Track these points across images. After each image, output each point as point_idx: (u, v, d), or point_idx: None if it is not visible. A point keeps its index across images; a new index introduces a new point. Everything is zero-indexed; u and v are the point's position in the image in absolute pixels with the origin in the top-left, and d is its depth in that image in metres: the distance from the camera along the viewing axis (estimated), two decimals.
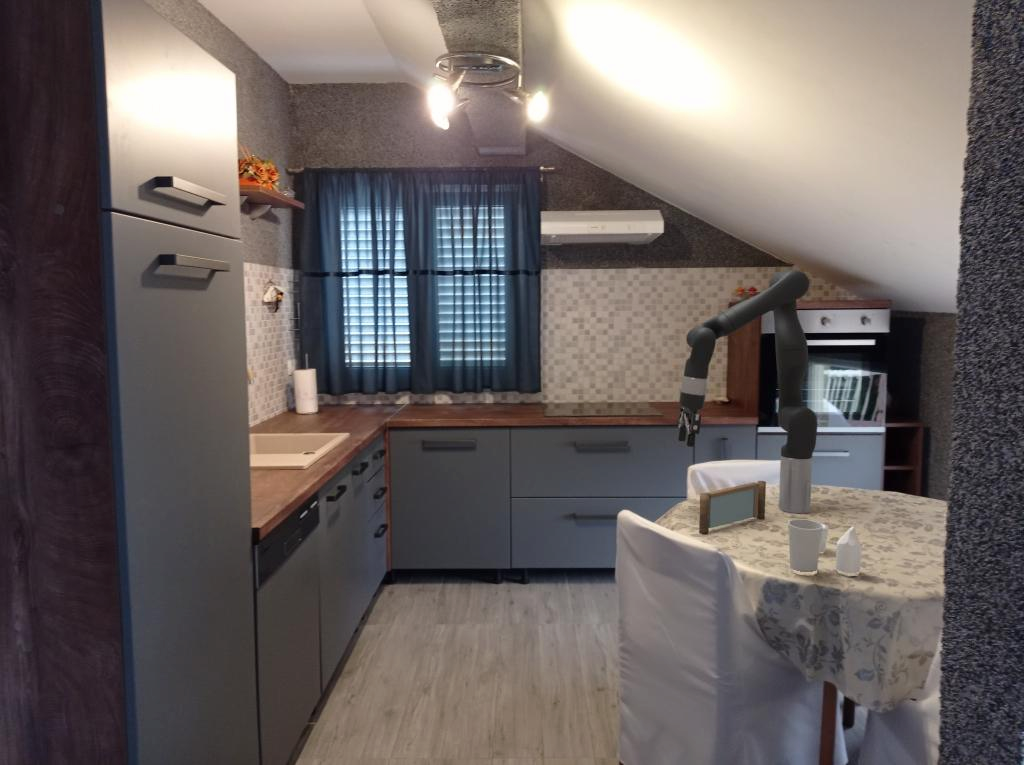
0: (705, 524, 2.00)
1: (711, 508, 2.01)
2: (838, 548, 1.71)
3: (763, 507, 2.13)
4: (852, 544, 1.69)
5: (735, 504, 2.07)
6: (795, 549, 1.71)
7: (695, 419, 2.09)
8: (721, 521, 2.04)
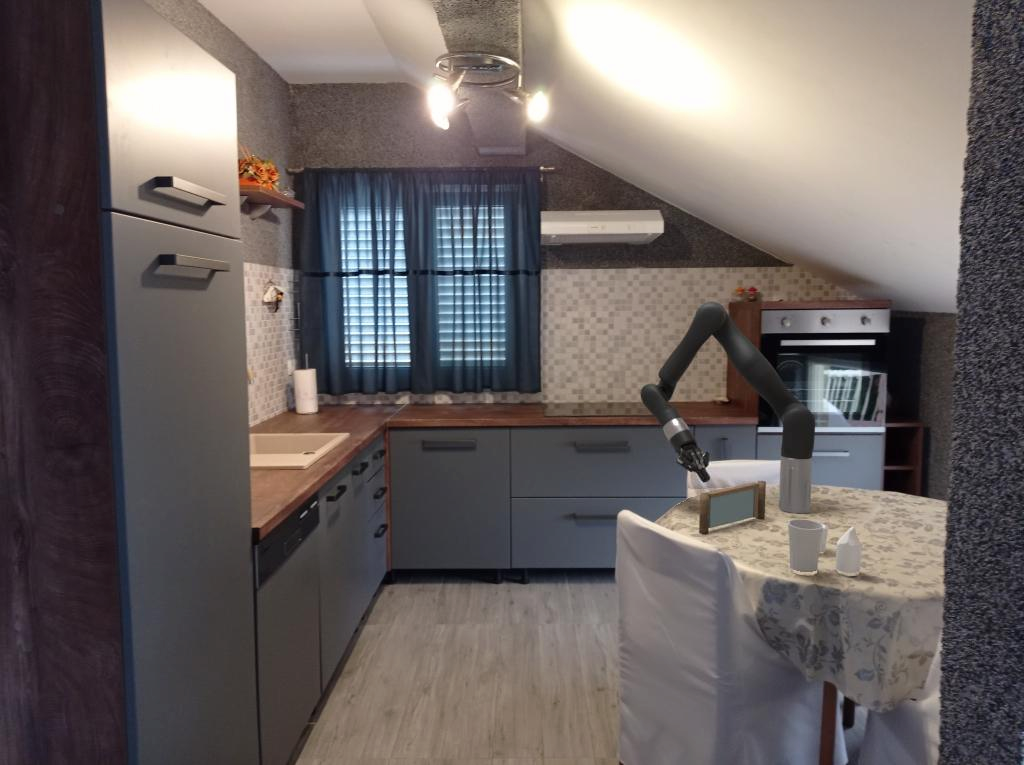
0: (705, 524, 2.00)
1: (711, 508, 2.01)
2: (838, 548, 1.71)
3: (763, 507, 2.13)
4: (852, 544, 1.69)
5: (735, 504, 2.07)
6: (795, 549, 1.71)
7: (681, 463, 2.18)
8: (721, 521, 2.04)
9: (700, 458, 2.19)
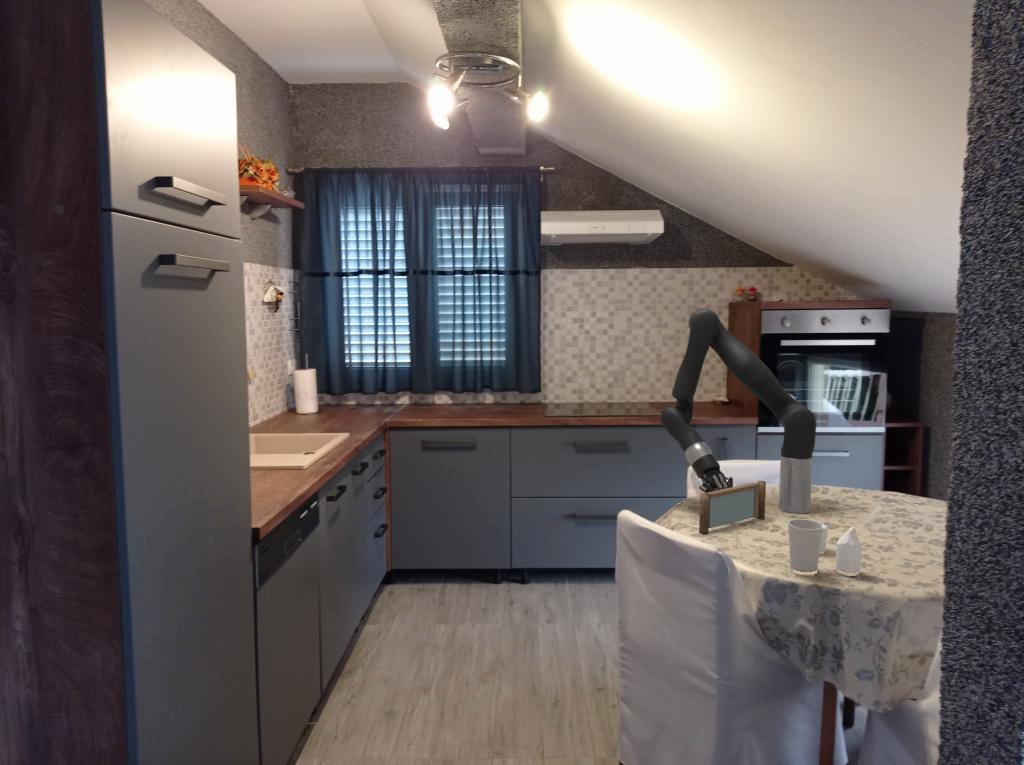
0: (705, 524, 2.00)
1: (711, 508, 2.01)
2: (838, 548, 1.71)
3: (763, 507, 2.13)
4: (852, 544, 1.69)
5: (735, 504, 2.07)
6: (795, 549, 1.71)
7: (704, 490, 2.10)
8: (721, 521, 2.04)
9: (724, 484, 2.11)
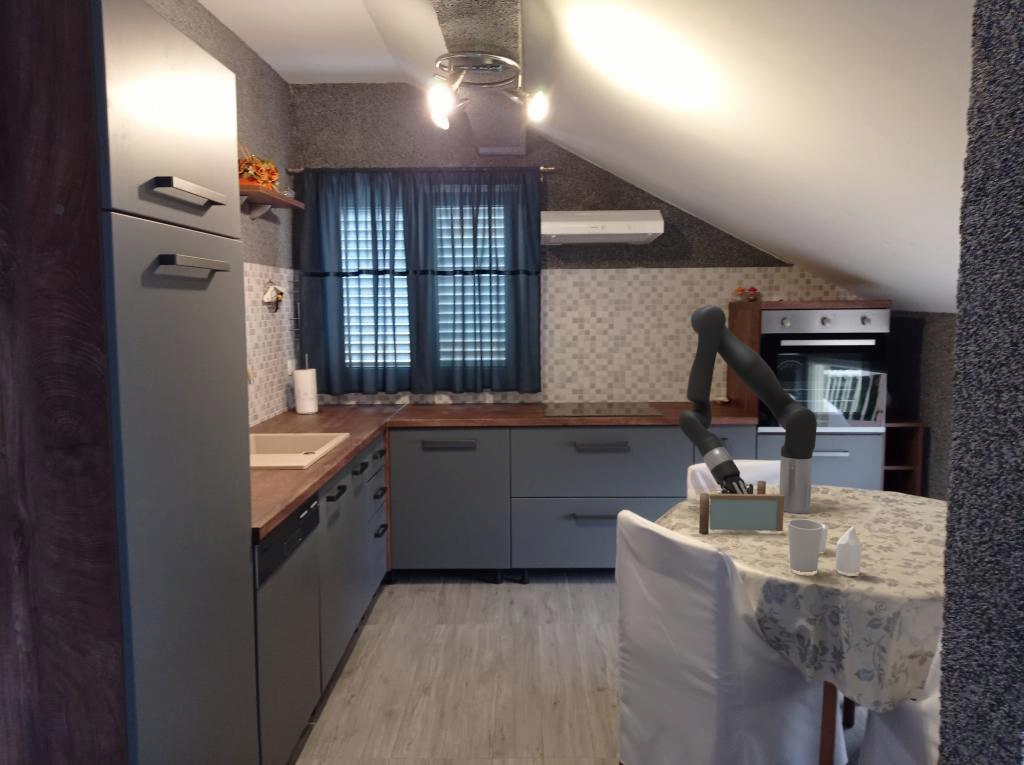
0: (705, 524, 2.00)
1: (712, 510, 2.00)
2: (838, 548, 1.71)
3: None
4: (852, 544, 1.69)
5: (748, 512, 1.99)
6: (795, 549, 1.71)
7: None
8: (727, 525, 2.00)
9: (744, 491, 2.04)
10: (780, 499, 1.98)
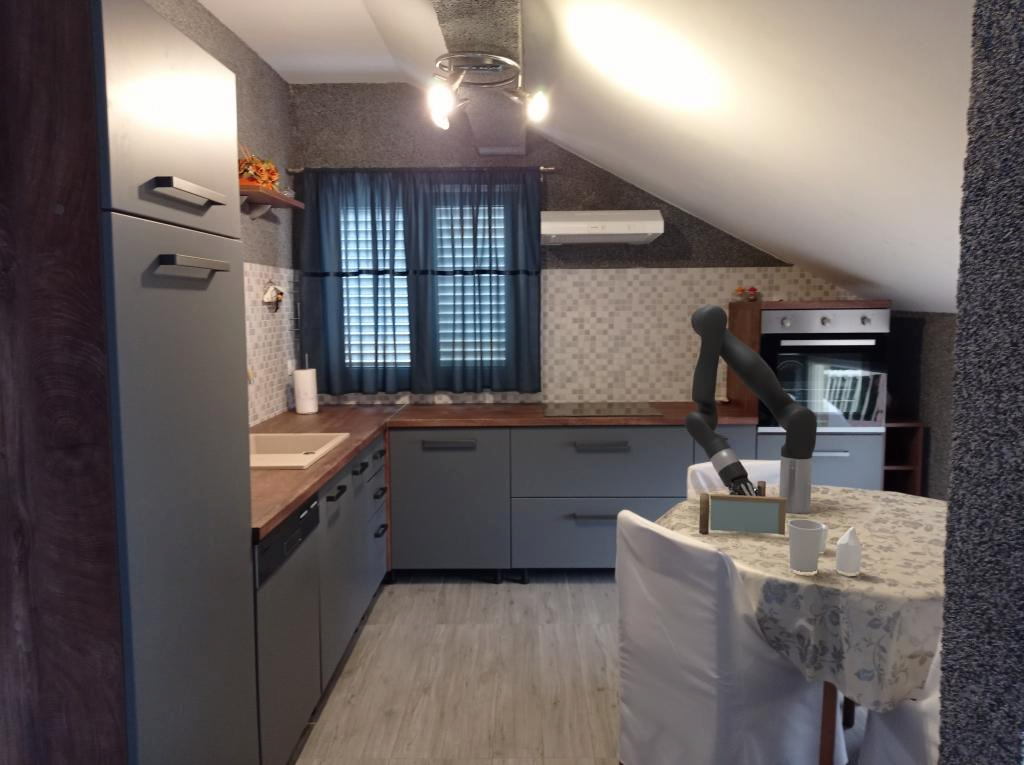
0: (705, 524, 2.00)
1: (712, 510, 2.00)
2: (838, 548, 1.71)
3: None
4: (852, 544, 1.69)
5: (749, 514, 1.98)
6: (795, 549, 1.71)
7: None
8: (727, 527, 1.99)
9: (752, 493, 2.02)
10: (782, 502, 1.95)
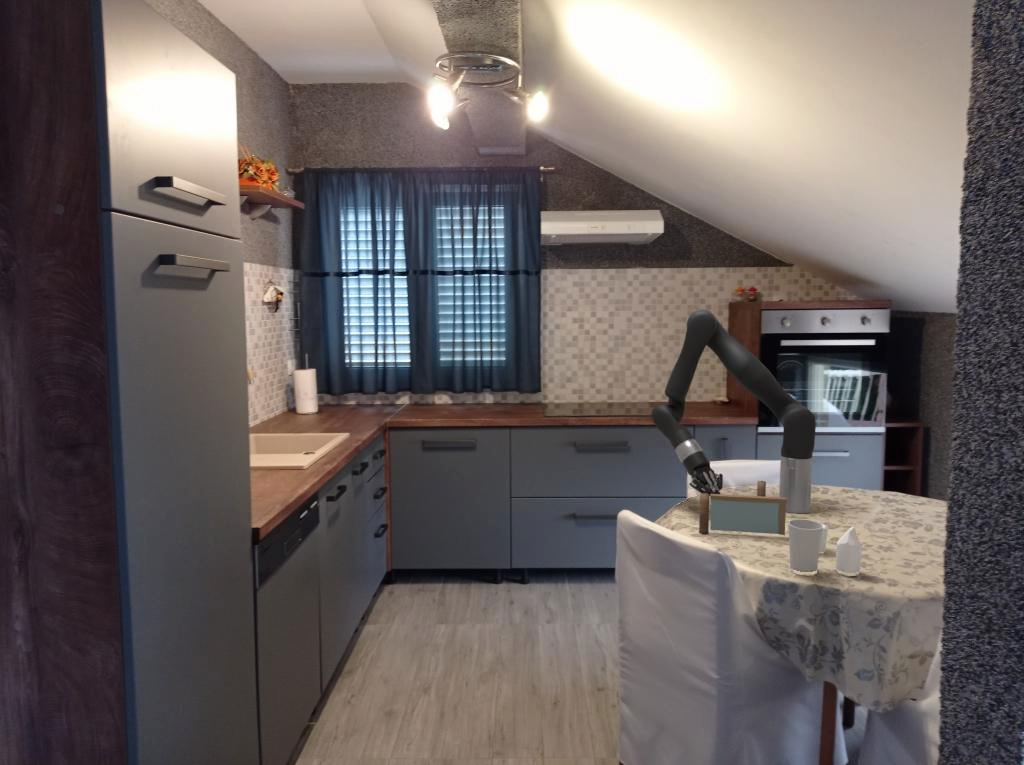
0: (705, 524, 2.00)
1: (712, 510, 2.00)
2: (838, 548, 1.71)
3: None
4: (852, 544, 1.69)
5: (749, 514, 1.98)
6: (795, 549, 1.71)
7: (695, 486, 2.13)
8: (727, 527, 1.99)
9: (714, 481, 2.15)
10: (782, 502, 1.95)
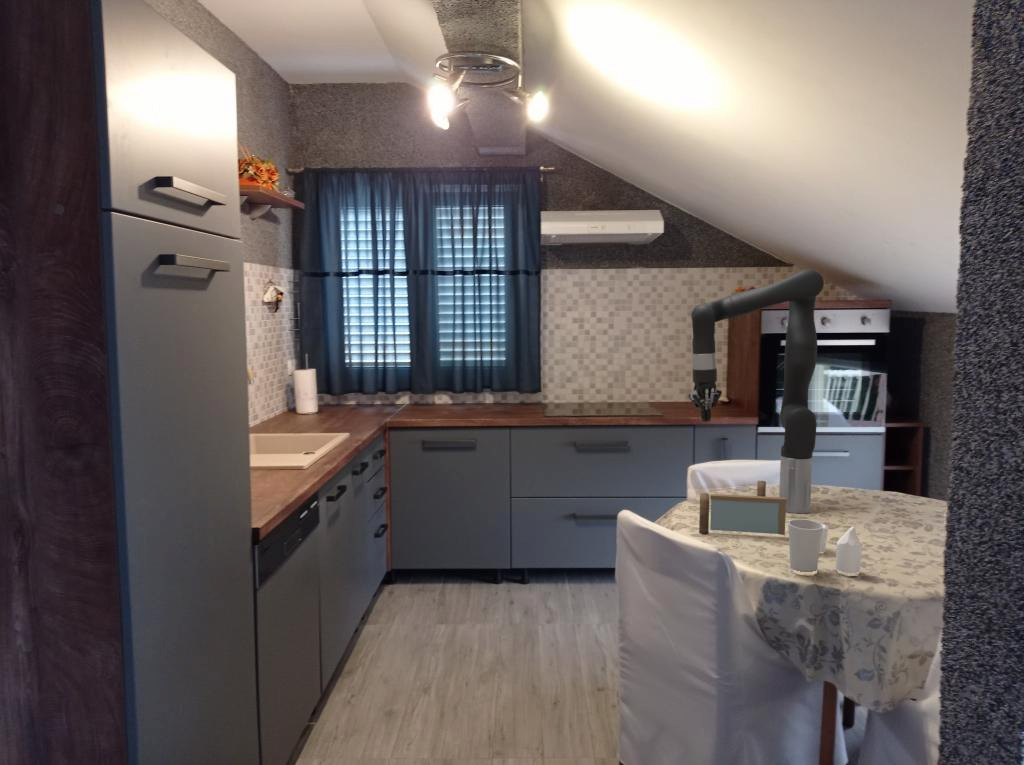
0: (705, 524, 2.00)
1: (712, 510, 2.00)
2: (838, 548, 1.71)
3: None
4: (852, 544, 1.69)
5: (749, 514, 1.98)
6: (795, 549, 1.71)
7: (692, 399, 2.21)
8: (727, 527, 1.99)
9: (711, 399, 2.23)
10: (782, 502, 1.95)
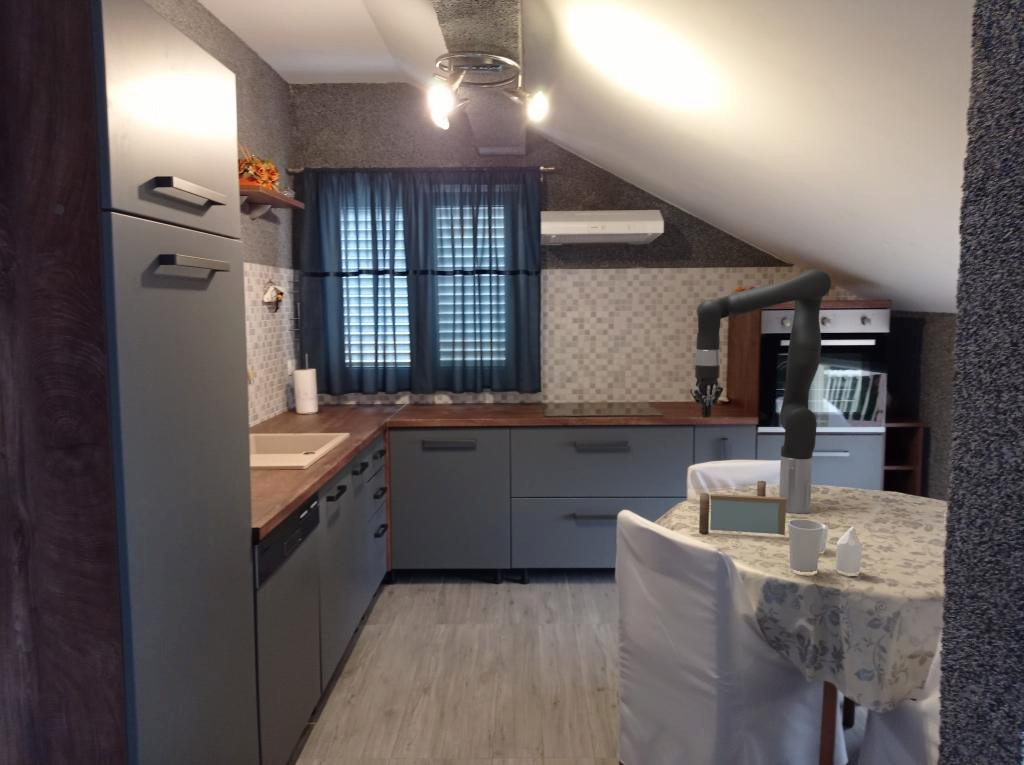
0: (705, 524, 2.00)
1: (712, 510, 2.00)
2: (838, 548, 1.71)
3: None
4: (852, 544, 1.69)
5: (749, 514, 1.98)
6: (795, 549, 1.71)
7: (693, 395, 2.21)
8: (727, 527, 1.99)
9: (712, 395, 2.22)
10: (782, 502, 1.95)
